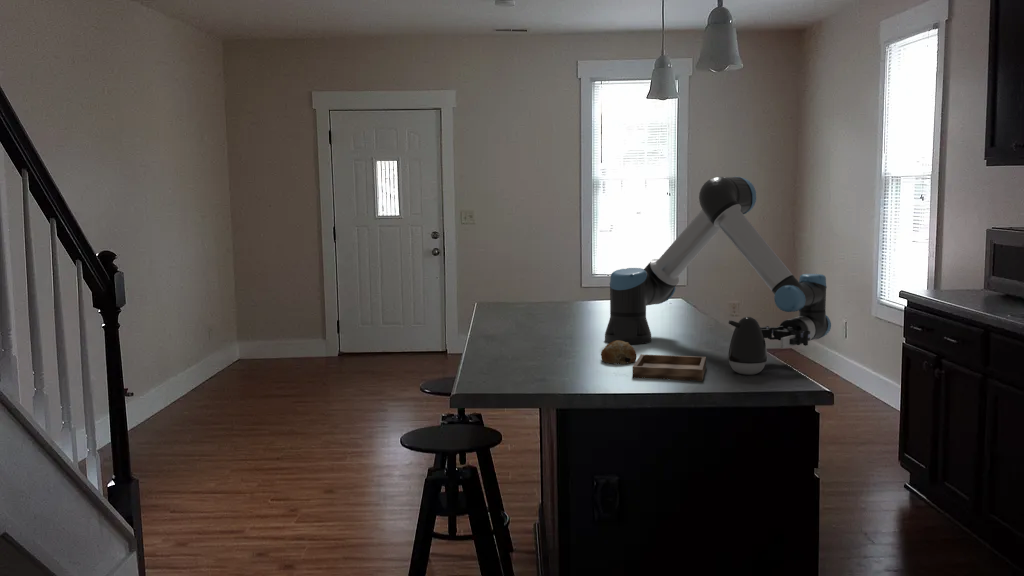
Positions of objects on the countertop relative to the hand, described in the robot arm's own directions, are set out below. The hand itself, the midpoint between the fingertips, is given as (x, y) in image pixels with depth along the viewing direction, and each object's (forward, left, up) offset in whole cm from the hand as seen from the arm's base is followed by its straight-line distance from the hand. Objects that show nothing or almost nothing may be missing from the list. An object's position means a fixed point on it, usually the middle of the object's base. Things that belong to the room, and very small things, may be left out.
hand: (758, 340), depth 240 cm
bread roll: (-39, +5, -9) cm, 41 cm away
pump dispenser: (-3, -4, -8) cm, 10 cm away
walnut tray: (-23, -8, -8) cm, 26 cm away
